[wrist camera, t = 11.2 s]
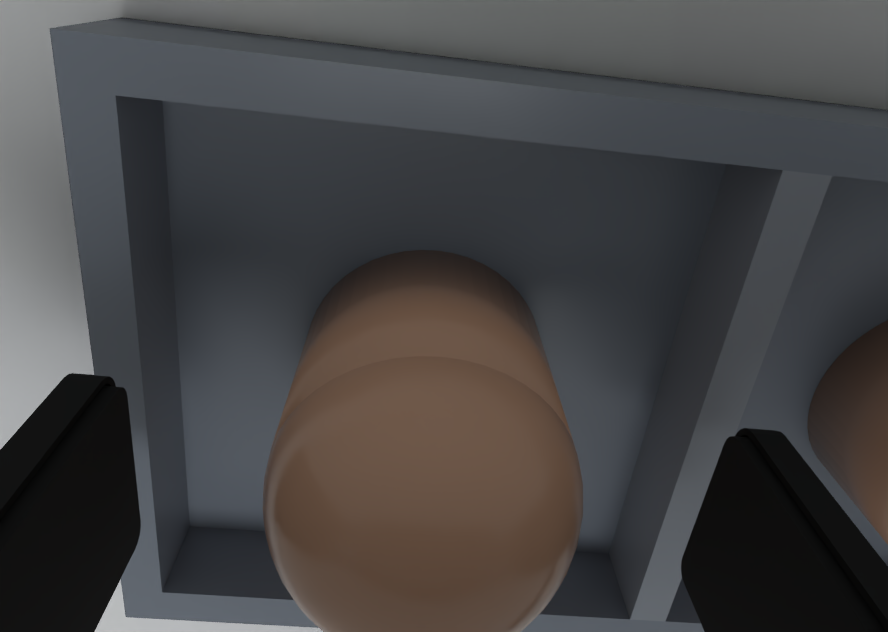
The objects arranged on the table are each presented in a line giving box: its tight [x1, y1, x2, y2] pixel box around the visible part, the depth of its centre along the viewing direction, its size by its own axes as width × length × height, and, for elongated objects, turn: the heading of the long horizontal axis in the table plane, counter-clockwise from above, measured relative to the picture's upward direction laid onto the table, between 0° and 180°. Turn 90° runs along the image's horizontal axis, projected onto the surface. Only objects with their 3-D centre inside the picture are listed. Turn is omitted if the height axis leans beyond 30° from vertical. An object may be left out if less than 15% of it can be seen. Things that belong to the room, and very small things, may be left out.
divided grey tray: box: [50, 18, 888, 632], centre depth 14 cm, size 22×12×2 cm, turn 83°
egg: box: [263, 250, 583, 632], centre depth 11 cm, size 5×5×6 cm
